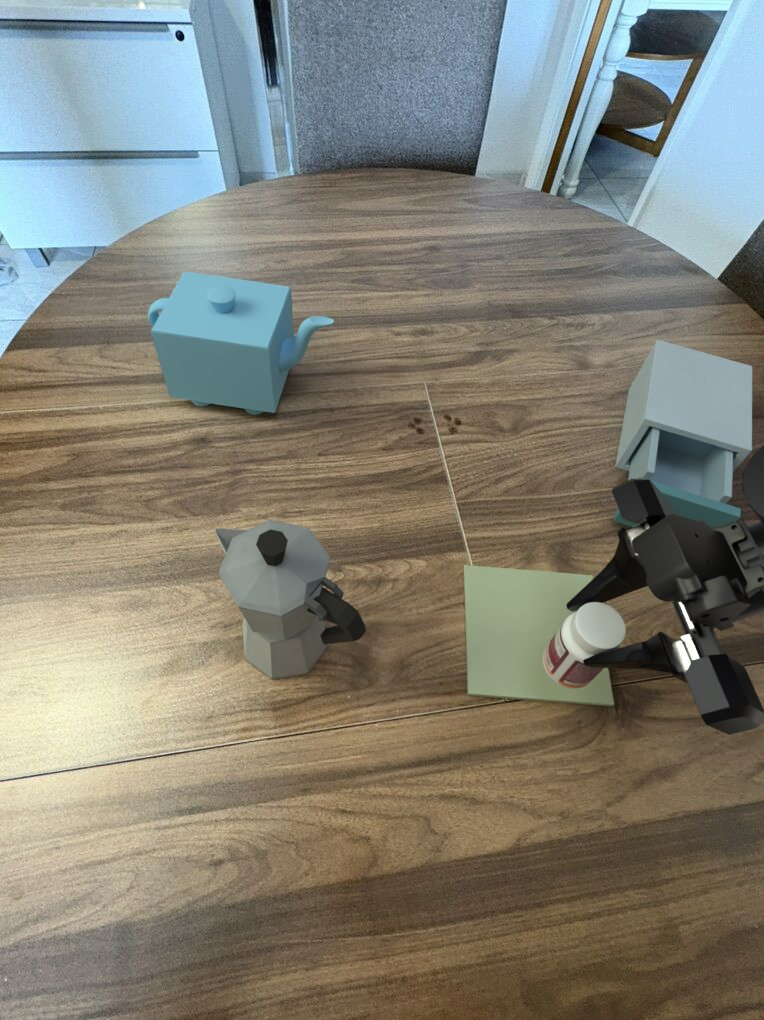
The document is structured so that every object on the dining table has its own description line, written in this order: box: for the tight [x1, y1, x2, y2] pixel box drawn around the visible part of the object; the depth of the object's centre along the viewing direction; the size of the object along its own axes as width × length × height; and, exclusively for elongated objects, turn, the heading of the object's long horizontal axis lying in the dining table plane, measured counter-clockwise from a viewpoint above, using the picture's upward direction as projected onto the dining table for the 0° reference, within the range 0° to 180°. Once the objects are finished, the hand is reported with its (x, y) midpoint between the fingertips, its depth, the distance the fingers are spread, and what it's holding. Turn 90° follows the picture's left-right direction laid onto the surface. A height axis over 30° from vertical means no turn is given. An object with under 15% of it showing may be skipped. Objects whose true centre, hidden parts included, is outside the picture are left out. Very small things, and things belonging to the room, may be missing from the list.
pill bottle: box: [543, 602, 627, 689], centre depth 51 cm, size 5×5×8 cm
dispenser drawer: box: [612, 426, 742, 528], centre depth 69 cm, size 19×11×7 cm, turn 160°
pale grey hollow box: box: [614, 339, 753, 473], centre depth 76 cm, size 15×12×9 cm
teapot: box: [147, 270, 335, 415], centre depth 74 cm, size 22×11×14 cm, turn 82°
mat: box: [463, 564, 615, 707], centre depth 62 cm, size 14×14×1 cm
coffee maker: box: [214, 519, 367, 681], centre depth 53 cm, size 15×9×18 cm, turn 56°
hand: (576, 635), depth 49 cm, fingers closed on pill bottle, 4 cm apart
